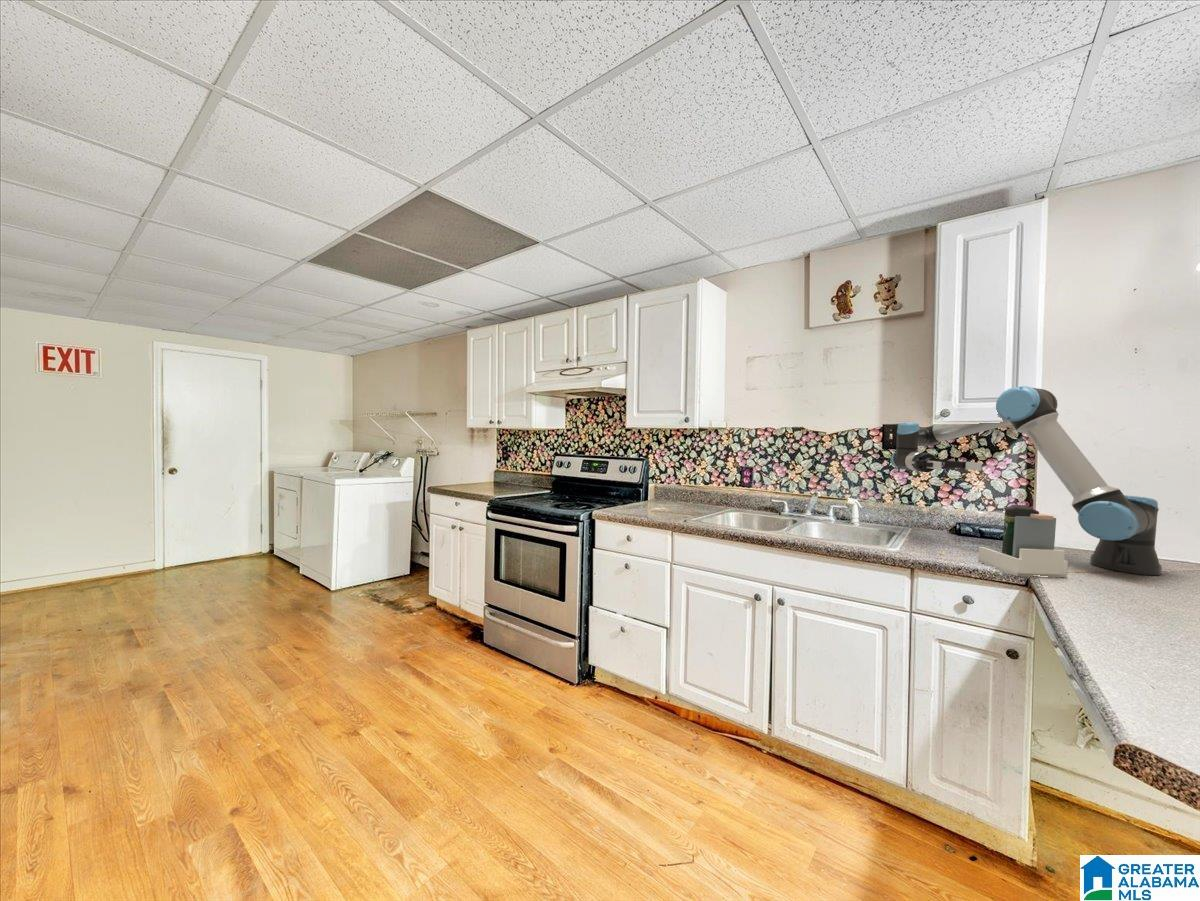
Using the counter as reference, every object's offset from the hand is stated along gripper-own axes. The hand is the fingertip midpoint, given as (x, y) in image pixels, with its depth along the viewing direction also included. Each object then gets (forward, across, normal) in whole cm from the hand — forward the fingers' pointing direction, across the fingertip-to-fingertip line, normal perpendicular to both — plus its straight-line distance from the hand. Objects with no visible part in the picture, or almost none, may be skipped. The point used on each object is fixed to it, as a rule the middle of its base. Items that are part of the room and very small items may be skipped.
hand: (960, 466), depth 164 cm
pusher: (+26, -5, -25) cm, 37 cm away
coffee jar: (+20, -5, -29) cm, 36 cm away
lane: (+21, -5, -30) cm, 37 cm away
